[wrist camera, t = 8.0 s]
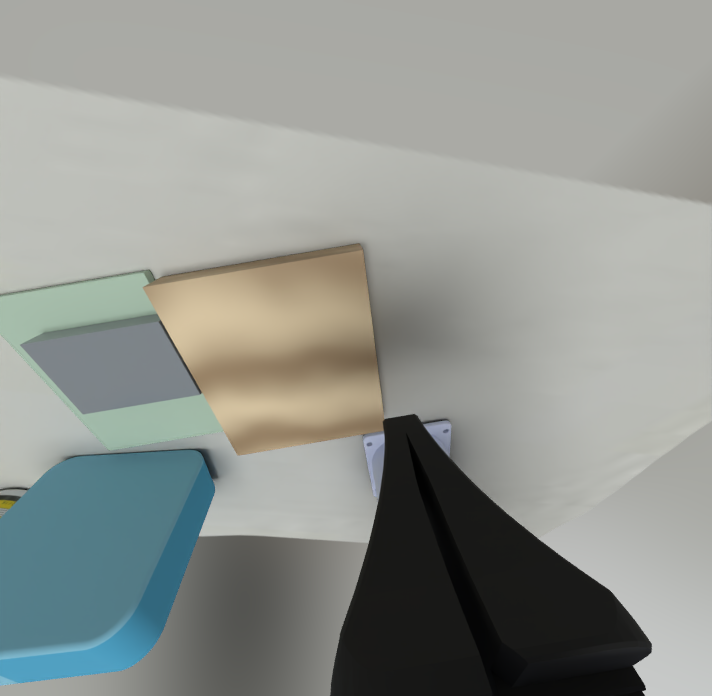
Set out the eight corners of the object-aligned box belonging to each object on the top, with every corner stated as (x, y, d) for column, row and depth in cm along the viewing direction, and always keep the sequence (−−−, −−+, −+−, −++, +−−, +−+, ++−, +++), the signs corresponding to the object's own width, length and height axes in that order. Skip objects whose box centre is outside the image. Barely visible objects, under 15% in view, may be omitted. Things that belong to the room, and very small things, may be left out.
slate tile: (208, 381, 20) (200, 394, 18) (99, 399, 20) (82, 414, 18) (171, 311, 17) (158, 321, 15) (43, 332, 17) (19, 344, 15)
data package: (86, 488, 25) (-84, 697, 15) (60, 455, 23) (-162, 675, 12) (220, 479, 26) (150, 668, 16) (208, 447, 24) (117, 644, 13)
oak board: (381, 412, 23) (385, 430, 22) (244, 436, 23) (237, 455, 22) (359, 243, 16) (363, 249, 15) (162, 276, 16) (142, 287, 15)
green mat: (232, 424, 23) (229, 430, 22) (113, 444, 23) (109, 450, 22) (149, 270, 16) (143, 272, 15) (-19, 298, 16) (-30, 301, 15)
